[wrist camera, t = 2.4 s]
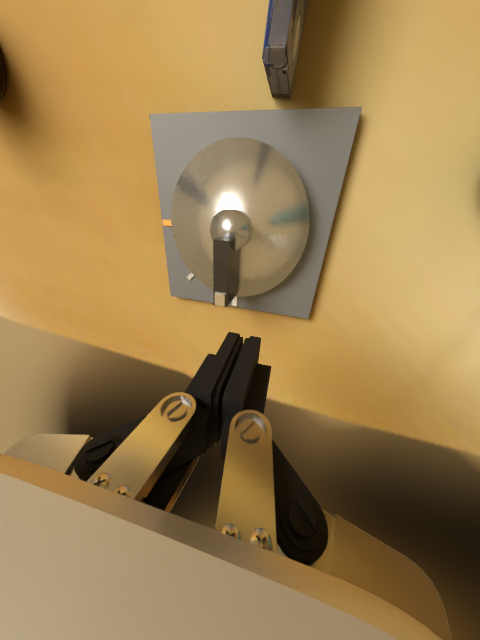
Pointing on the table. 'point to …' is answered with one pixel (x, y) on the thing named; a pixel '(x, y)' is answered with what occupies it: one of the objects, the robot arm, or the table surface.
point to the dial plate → (305, 156)
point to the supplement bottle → (2, 76)
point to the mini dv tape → (283, 44)
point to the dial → (240, 218)
